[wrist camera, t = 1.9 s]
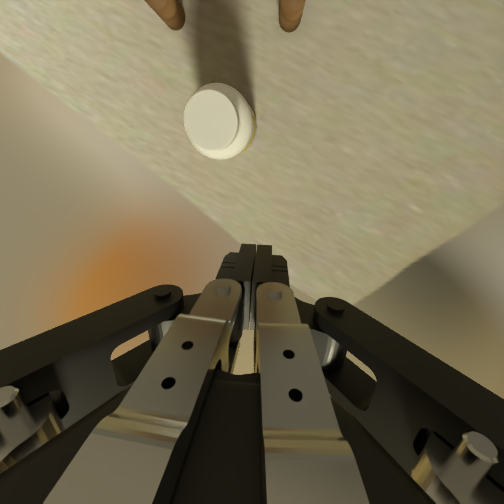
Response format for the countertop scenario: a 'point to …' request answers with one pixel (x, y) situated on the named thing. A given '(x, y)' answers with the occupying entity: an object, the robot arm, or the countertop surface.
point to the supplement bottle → (219, 121)
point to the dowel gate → (174, 16)
